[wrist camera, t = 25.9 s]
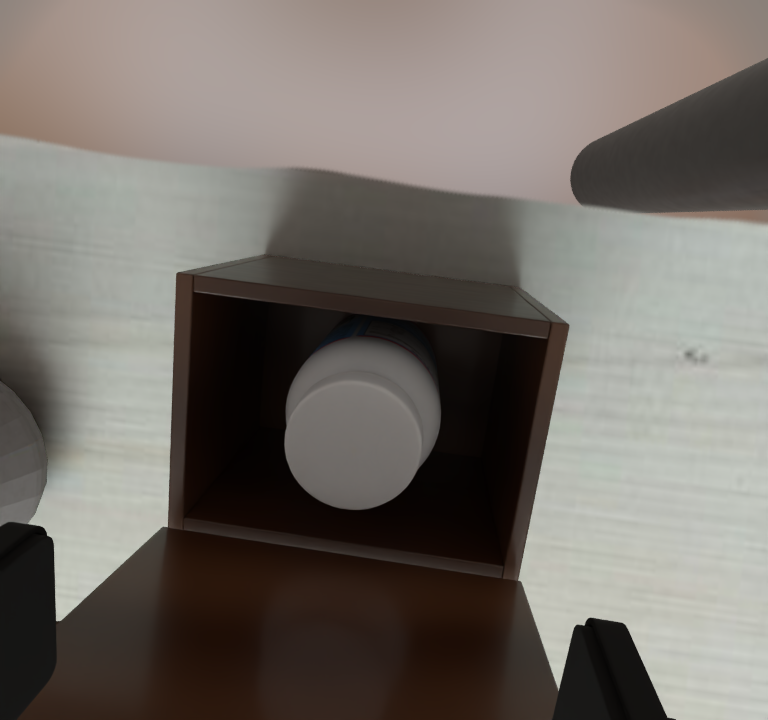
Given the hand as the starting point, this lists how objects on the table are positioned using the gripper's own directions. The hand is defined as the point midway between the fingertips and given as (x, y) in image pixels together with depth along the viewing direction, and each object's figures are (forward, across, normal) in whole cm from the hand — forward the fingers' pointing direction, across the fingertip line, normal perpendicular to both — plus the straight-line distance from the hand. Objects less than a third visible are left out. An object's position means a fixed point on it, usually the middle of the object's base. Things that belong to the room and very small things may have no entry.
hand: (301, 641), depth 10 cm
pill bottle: (+21, +1, 0) cm, 21 cm away
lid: (+5, 0, +4) cm, 7 cm away
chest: (+21, +1, 0) cm, 21 cm away
